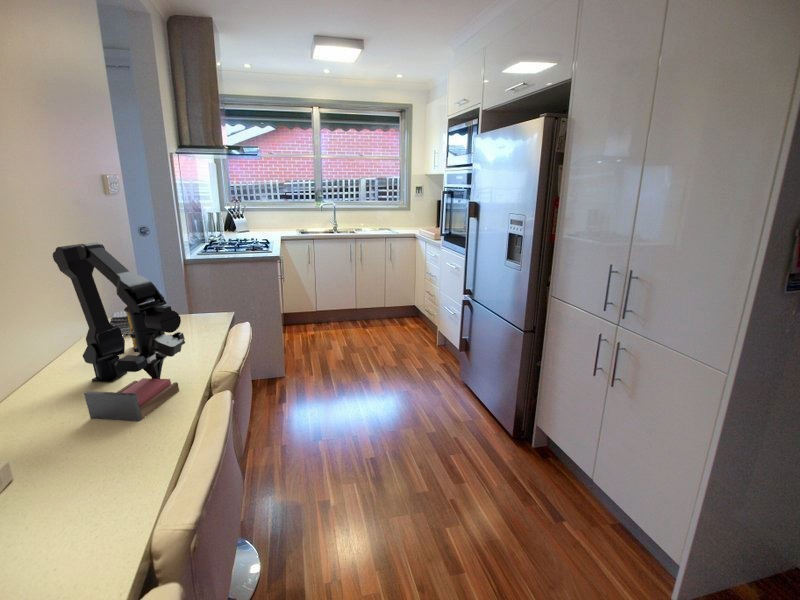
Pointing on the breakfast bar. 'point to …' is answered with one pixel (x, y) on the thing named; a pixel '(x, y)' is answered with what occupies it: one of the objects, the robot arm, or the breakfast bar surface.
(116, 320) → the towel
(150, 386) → the pink rectangular block
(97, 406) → the bookend
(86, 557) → the breakfast bar surface
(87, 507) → the breakfast bar surface
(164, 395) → the slot rails
